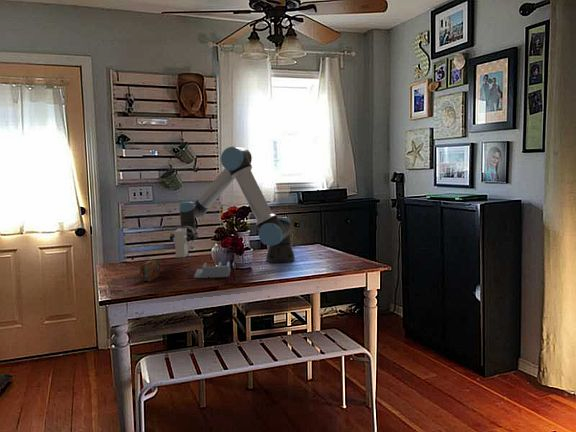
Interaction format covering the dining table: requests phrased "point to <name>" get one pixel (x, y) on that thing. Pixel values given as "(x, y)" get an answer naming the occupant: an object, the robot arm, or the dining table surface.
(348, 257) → the dining table surface
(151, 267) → the mottled brown flat piece
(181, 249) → the cream upright slab
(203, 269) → the rack
